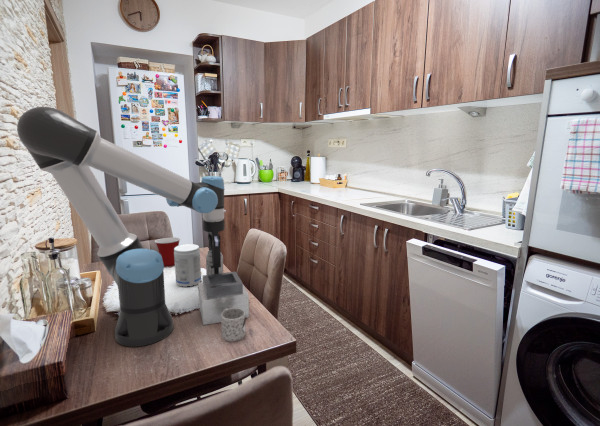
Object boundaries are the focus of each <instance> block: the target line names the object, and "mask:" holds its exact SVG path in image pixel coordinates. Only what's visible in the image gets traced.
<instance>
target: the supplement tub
mask: <svg viewBox="0 0 600 426" xmlns="http://www.w3.org/2000/svg"><path fill="white" fill-rule="evenodd" d="M174 260H175V265H174V271H175V272H174V273H175V284H176V285H177V286H178V287H182V286H183V287H185V288H186V287H187V286H190V287H194V286H196V285H198V283H202V282H201V281H202V270H201V269H202V268H201V252H200V246H199V245H198V244H194V243H186V244H180V245H178V246H177V247H175V248H174ZM193 285H194V286H193ZM187 288H188V287H187Z"/></svg>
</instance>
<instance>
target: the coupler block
mask: <svg viewBox="0 0 600 426" xmlns="http://www.w3.org/2000/svg"><path fill="white" fill-rule="evenodd" d="M197 288H198V289H197V293H198V307H200V308H199V312H200V317H201V321H202V325H203V326H206V325H212V324H218V323H221V313H222V312H223V311H224V309H226V308H227V309H231V308H239V309H242V310H244V311H245V319H247V318H249V317H250V311H249V310H250V307H249V305H250V303H249V301H250V300H249V297H250V294H249V292H248V290H247V288H246V287H245V285H244V284H243V281H242V280H241V278H240V276H239V275H238V272H236V271H230V272H229V271H228V272H223V273H220V274H212V275H206V274H205V275H202V282H200V283H198V284H197Z"/></svg>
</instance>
